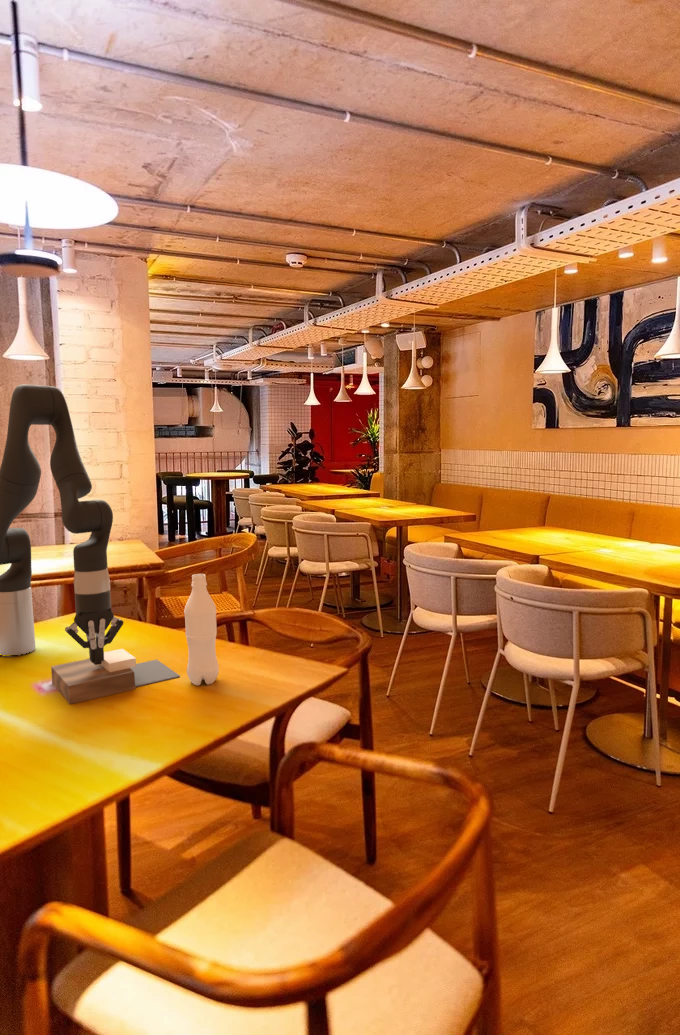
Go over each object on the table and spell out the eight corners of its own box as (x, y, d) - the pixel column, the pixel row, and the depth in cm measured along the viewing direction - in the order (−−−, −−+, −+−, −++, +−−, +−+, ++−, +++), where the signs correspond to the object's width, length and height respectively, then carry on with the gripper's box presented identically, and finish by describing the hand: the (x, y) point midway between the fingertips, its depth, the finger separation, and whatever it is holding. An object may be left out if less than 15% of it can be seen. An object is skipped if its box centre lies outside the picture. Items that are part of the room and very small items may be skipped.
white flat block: (97, 661, 155) (97, 653, 155) (123, 656, 159) (122, 648, 158) (109, 672, 148) (109, 663, 148) (136, 666, 152) (135, 658, 151)
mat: (113, 669, 161) (113, 668, 161) (156, 660, 168) (156, 659, 168) (133, 687, 149) (133, 686, 149) (180, 676, 156) (179, 675, 156)
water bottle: (225, 678, 154) (221, 573, 151) (206, 689, 147) (202, 579, 145) (200, 674, 157) (195, 571, 154) (180, 684, 150) (175, 576, 148)
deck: (52, 683, 153) (51, 666, 153) (113, 669, 161) (112, 654, 161) (69, 704, 140) (68, 686, 140) (135, 688, 148) (134, 671, 148)
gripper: (117, 582, 156) (121, 653, 158) (57, 590, 148) (62, 665, 150) (127, 587, 150) (131, 661, 152) (65, 596, 142) (70, 674, 144)
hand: (97, 663), depth 151 cm, fingers closed
